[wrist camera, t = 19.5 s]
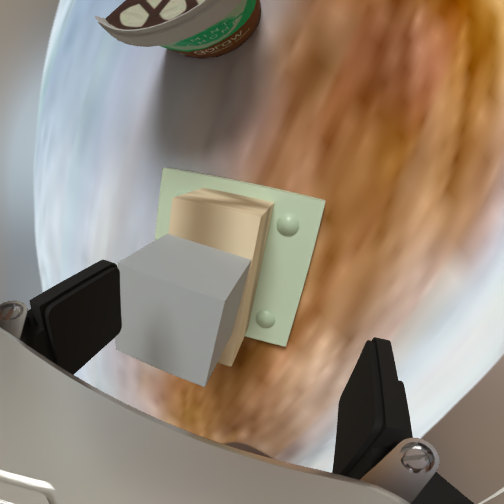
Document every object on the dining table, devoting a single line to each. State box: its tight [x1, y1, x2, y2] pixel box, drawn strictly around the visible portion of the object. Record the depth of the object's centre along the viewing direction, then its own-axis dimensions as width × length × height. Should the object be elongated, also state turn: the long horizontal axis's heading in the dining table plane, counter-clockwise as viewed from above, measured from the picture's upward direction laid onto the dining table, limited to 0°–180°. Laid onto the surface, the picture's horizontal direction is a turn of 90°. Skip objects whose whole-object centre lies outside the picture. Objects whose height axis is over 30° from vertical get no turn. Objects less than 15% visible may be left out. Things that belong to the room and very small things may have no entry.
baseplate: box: [155, 168, 325, 347], centre depth 28 cm, size 14×14×1 cm
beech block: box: [169, 188, 274, 367], centre depth 24 cm, size 6×12×6 cm, turn 170°
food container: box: [95, 0, 261, 59], centre depth 17 cm, size 12×6×10 cm, turn 124°
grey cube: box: [116, 234, 251, 387], centre depth 19 cm, size 6×6×6 cm
